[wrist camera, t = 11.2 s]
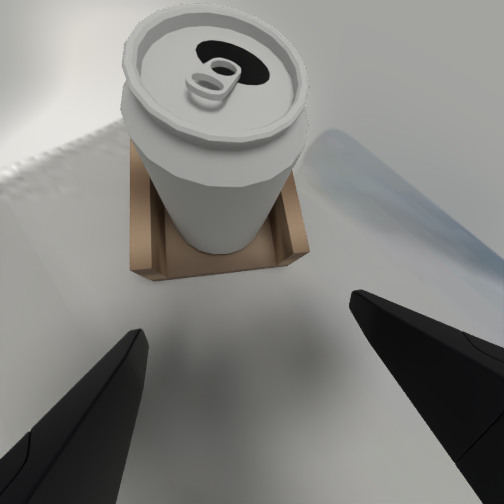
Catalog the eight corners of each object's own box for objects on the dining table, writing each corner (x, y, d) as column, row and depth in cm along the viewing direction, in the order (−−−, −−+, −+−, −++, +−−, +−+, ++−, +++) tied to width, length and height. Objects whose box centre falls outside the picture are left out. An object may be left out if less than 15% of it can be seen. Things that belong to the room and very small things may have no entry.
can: (272, 200, 19) (351, 44, 8) (241, 271, 17) (288, 195, 6) (199, 166, 19) (173, -45, 8) (157, 234, 17) (31, 75, 5)
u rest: (287, 265, 19) (310, 251, 14) (153, 281, 17) (129, 270, 12) (267, 159, 22) (280, 119, 17) (150, 160, 19) (130, 115, 15)
